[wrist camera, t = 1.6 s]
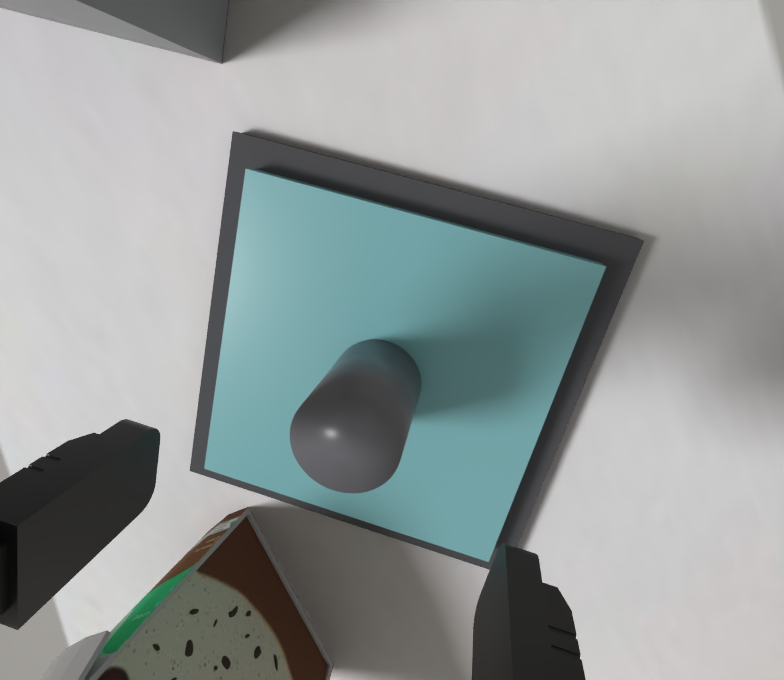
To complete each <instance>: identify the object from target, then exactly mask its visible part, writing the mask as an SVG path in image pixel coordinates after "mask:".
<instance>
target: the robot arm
mask: <svg viewBox="0 0 784 680" xmlns="http://www.w3.org/2000/svg"><path fill="white" fill-rule="evenodd" d="M159 445H160V433H159V431H158V430H157V429H155V428H152V427H149V426H146V425H143V424H140V423H137V422H134V421H131V420H128V419H124V420H121V421H120V422H118V423H116V424H115V425H113V426H112V427H110V428H109V429H107V430H106V431H104V432H103V433H101V434H96V433H92V434H89V435H85V436H82V437H79V438H76V439H73V440H69V441H67V442H65V443H64V444H62V445H61V446H59V447H57V448H56V449H54V450H52V451H51V452H49V453H47V455H46V457H41V458H39V459H38V460H36V461H34V462H33V463H31V464H30V465H29V467H28V468H23V469H21V470H20V471H18V472H16V473H15V474H13V475H12V476H10V477H8V478H7V479H5V480H3V481H2V482H0V624H3V625H6V626H8V627H11V628H14V629H16V630H18V629H19V628H20V627H21V626H23V625H24V624H25V623H26V622H27V621H28V620H29V619H30V618H31V617H32V616H33V615H34V614H35V613H36V612H37V611H38V610H39V609H40V608H41V607H42V606H43V605H45V604H46V603H47V602H48V601H49V600H50V599H51V598H52V597H53V596H54V595H55V594H56V593H57V592H58V591H59V590H60V589H61V588H62V587H64V586H65V585H66V584H67V583H68V582H69V581H70V580H71V579H72V578H73V577H74V576H75V575H76V574H77V573H78V572H79V571H80V570H81V569H82V568H83V567H85V566H86V565H87V564H88V563H89V562H90V561H91V560H92V559H93V558H94V557H95V556H96V555H97V554H98V553H99V552H100V551H101V550H102V549H103V548H104V547H106V546H107V545H108V544H109V543H110V542H111V541H112V540H113V539H114V538H115V537H116V536H117V535H118V534H119V533H120V532H121V531H122V530H123V529H124V528H125V527H127V526H128V525H129V524H130V523H131V522H132V521H133V520H134V519H135V518H136V517H137V516H138V515H139V514H140V513H141V512H142V511H143V510H144V509H145V507H146V506H147V504H148V503H149V501H150V499H151V497H152V494H153V492H154V488H155V483H156V474H157V464H158V455H159ZM472 680H585V675H584V670H583V665H582V660H580V650H579V645H578V640H577V639H576V630H575V625H574V621H573V616H572V611H571V609H570V608H569V606H568V604H567V603H566V601H565V599H564V598H563V596H562V594H561V592H560V591H559V589H558V588H557V587H554V586H551V585H548V584H545V583H542V578H541V571H540V564H539V558H538V555H537V554H535V553H532V552H529V551H526V550H523V549H520V548H517V547H513V546H510V545H507V544H504V543H502V544H501V545H500V547H499V549H498V551H497V554H496V556H495V559H494V561H493V564H492V566H491V569H490V571H489V574H488V576H487V579H486V581H485V584H484V586H483V589H482V591H481V594H480V597H479V600H478V603H477V607H476V612H475V618H474V626H473V661H472Z"/></svg>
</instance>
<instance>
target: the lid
mask: <svg viewBox="0 0 784 680" xmlns="http://www.w3.org/2000/svg"><path fill="white" fill-rule="evenodd" d="M605 268H606V266H605V265H603V264H602V263H600V262H596V261H593V260H589V259H585V258H582V257H578V256H574V255H571V254H567V253H563V252H560V251H556V250H552V249H549V248H545V247H541V246H538V245H534V244H530V243H527V242H523V241H519V240H515V239H512V238H508V237H504V236H501V235H497V234H493V233H490V232H486V231H482V230H479V229H475V228H471V227H468V226H464V225H460V224H457V223H453V222H449V221H446V220H442V219H438V218H434V217H431V216H427V215H423V214H420V213H416V212H412V211H409V210H405V209H401V208H398V207H394V206H390V205H387V204H383V203H379V202H376V201H372V200H368V199H365V198H361V197H357V196H353V195H350V194H346V193H342V192H339V191H335V190H331V189H328V188H324V187H320V186H317V185H313V184H309V183H306V182H302V181H298V180H295V179H291V178H287V177H284V176H280V175H276V174H272V173H269V172H265V171H261V170H258V169H245V177H244V184H243V191H242V198H241V206H240V213H239V220H238V227H237V235H236V242H235V249H234V256H233V264H232V271H231V278H230V285H229V292H228V300H227V307H226V314H225V321H224V329H223V336H222V343H221V350H220V358H219V365H218V372H217V379H216V387H215V394H214V401H213V408H212V416H211V423H210V430H209V437H208V445H207V452H206V459H205V466H204V469H207V470H210V471H213V472H216V473H219V474H222V475H225V476H228V477H231V478H234V479H237V480H240V481H243V482H246V483H249V484H252V485H255V486H258V487H261V488H265V489H268V490H271V491H274V492H277V493H280V494H283V495H286V496H289V497H292V498H295V499H298V500H301V501H304V502H307V503H310V504H313V505H316V506H319V507H322V508H325V509H328V510H332V511H335V512H338V513H341V514H344V515H347V516H350V517H353V518H356V519H359V520H362V521H365V522H368V523H371V524H374V525H377V526H380V527H383V528H386V529H389V530H392V531H395V532H399V533H402V534H405V535H408V536H411V537H414V538H417V539H420V540H423V541H426V542H429V543H432V544H435V545H438V546H441V547H444V548H447V549H450V550H453V551H456V552H459V553H463V554H466V555H469V556H472V557H475V558H478V559H481V560H484V561H487V562H489V560H490V557H491V555H492V552H493V550H494V547H495V545H496V542H497V540H498V537H499V535H500V532H501V530H502V527H503V525H504V522H505V520H506V517H507V515H508V512H509V510H510V507H511V505H512V502H513V500H514V497H515V495H516V492H517V490H518V487H519V485H520V482H521V479H522V477H523V474H524V472H525V469H526V467H527V464H528V462H529V459H530V457H531V454H532V452H533V449H534V447H535V444H536V442H537V439H538V437H539V434H540V432H541V429H542V427H543V424H544V422H545V419H546V417H547V414H548V412H549V409H550V407H551V404H552V402H553V399H554V397H555V394H556V392H557V389H558V387H559V384H560V381H561V379H562V376H563V374H564V371H565V369H566V366H567V364H568V361H569V359H570V356H571V354H572V351H573V349H574V346H575V344H576V341H577V339H578V336H579V334H580V331H581V329H582V326H583V324H584V321H585V319H586V316H587V314H588V311H589V309H590V306H591V304H592V301H593V299H594V296H595V294H596V291H597V289H598V286H599V284H600V281H601V278H602V276H603V273H604V271H605Z"/></svg>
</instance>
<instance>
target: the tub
mask: <svg viewBox="0 0 784 680" xmlns="http://www.w3.org/2000/svg"><path fill="white" fill-rule="evenodd" d="M228 3H229V0H0V8H4V9H8V10H12V11H16V12H20V13H24V14H28V15H32V16H36V17H40V18H44V19H48V20H51V21H55V22H59V23H63V24H67V25H71V26H75V27H79V28H83V29H87V30H91V31H95V32H99V33H103V34H106V35H110V36H114V37H118V38H122V39H126V40H130V41H134V42H138V43H142V44H146V45H150V46H154V47H158V48H162V49H165V50H169V51H173V52H177V53H181V54H185V55H189V56H193V57H197V58H201V59H205V60H209V61H213V62H217V63H221V64H222V56H223V47H224V38H225V29H226V21H227V12H228Z"/></svg>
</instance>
